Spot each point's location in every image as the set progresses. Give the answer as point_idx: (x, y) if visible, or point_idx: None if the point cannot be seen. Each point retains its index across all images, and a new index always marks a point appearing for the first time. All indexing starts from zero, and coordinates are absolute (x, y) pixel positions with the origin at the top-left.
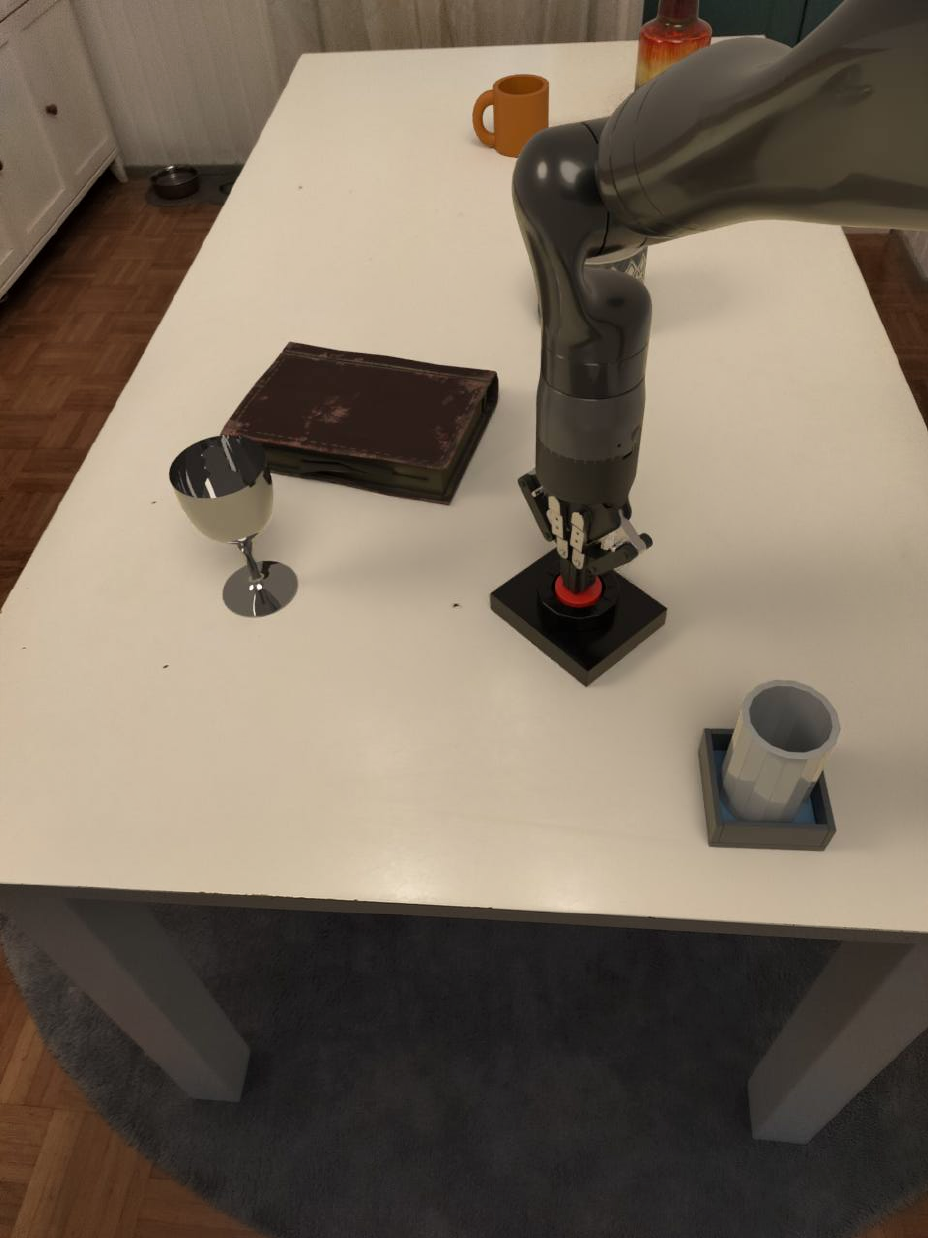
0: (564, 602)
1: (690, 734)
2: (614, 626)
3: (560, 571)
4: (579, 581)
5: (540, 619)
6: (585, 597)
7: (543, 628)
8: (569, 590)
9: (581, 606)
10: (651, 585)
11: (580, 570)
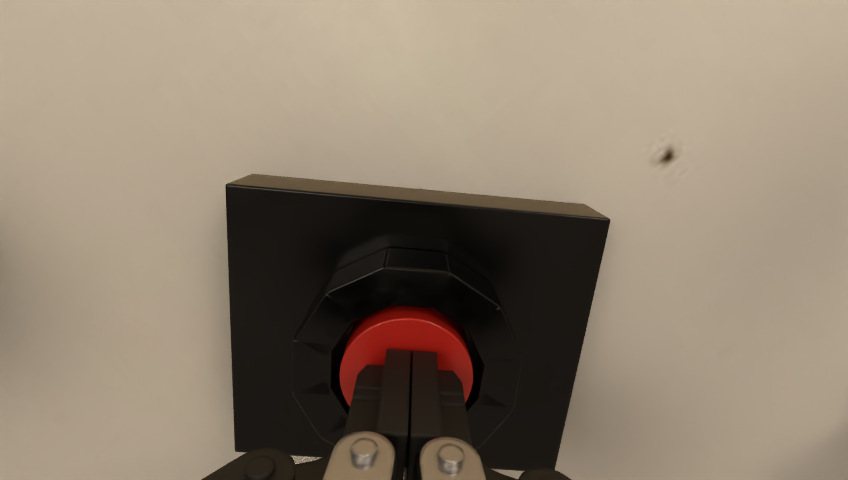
0: (402, 312)
1: (5, 226)
2: (283, 339)
3: (461, 385)
4: (376, 390)
5: (439, 239)
6: (361, 359)
7: (412, 220)
8: (409, 350)
9: (357, 330)
10: None
11: (369, 428)
